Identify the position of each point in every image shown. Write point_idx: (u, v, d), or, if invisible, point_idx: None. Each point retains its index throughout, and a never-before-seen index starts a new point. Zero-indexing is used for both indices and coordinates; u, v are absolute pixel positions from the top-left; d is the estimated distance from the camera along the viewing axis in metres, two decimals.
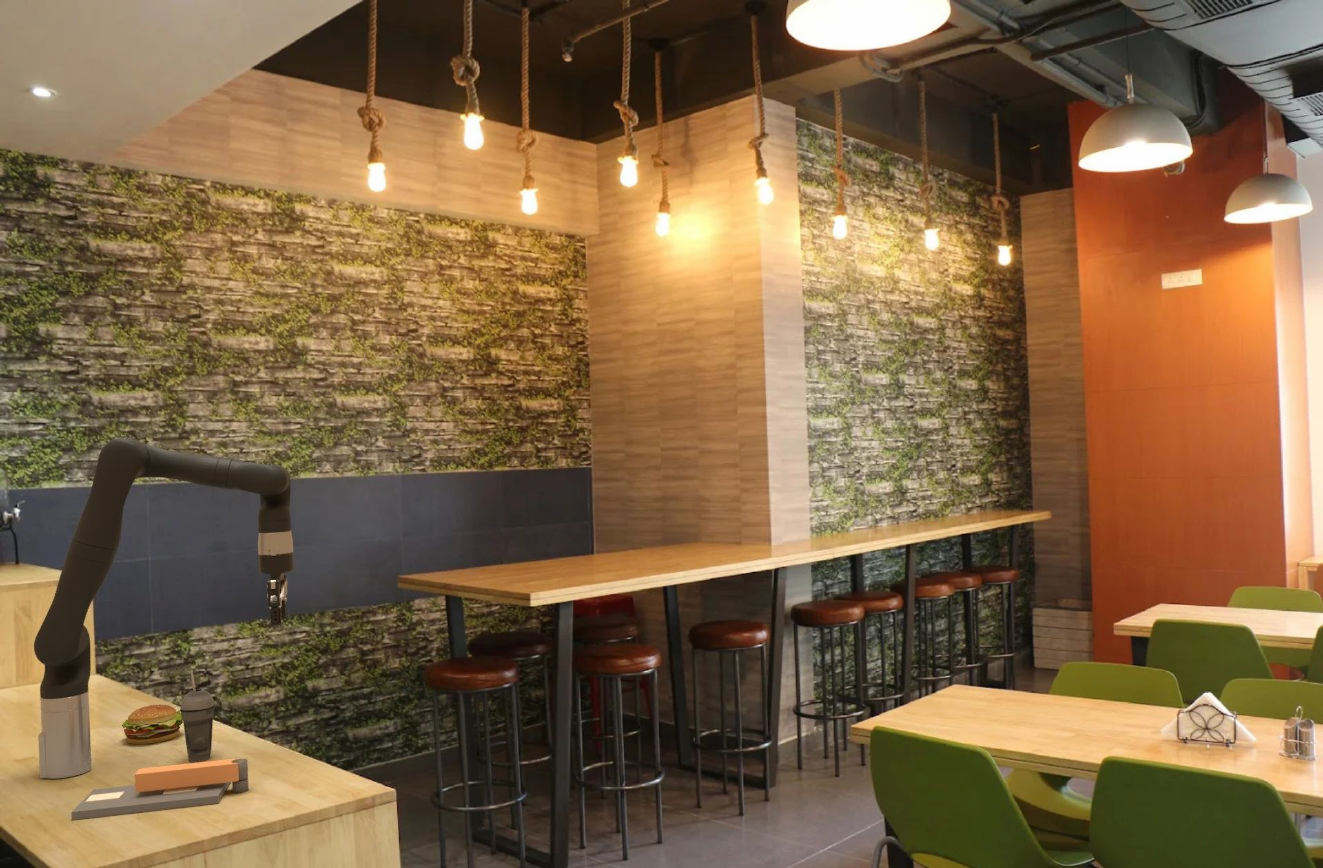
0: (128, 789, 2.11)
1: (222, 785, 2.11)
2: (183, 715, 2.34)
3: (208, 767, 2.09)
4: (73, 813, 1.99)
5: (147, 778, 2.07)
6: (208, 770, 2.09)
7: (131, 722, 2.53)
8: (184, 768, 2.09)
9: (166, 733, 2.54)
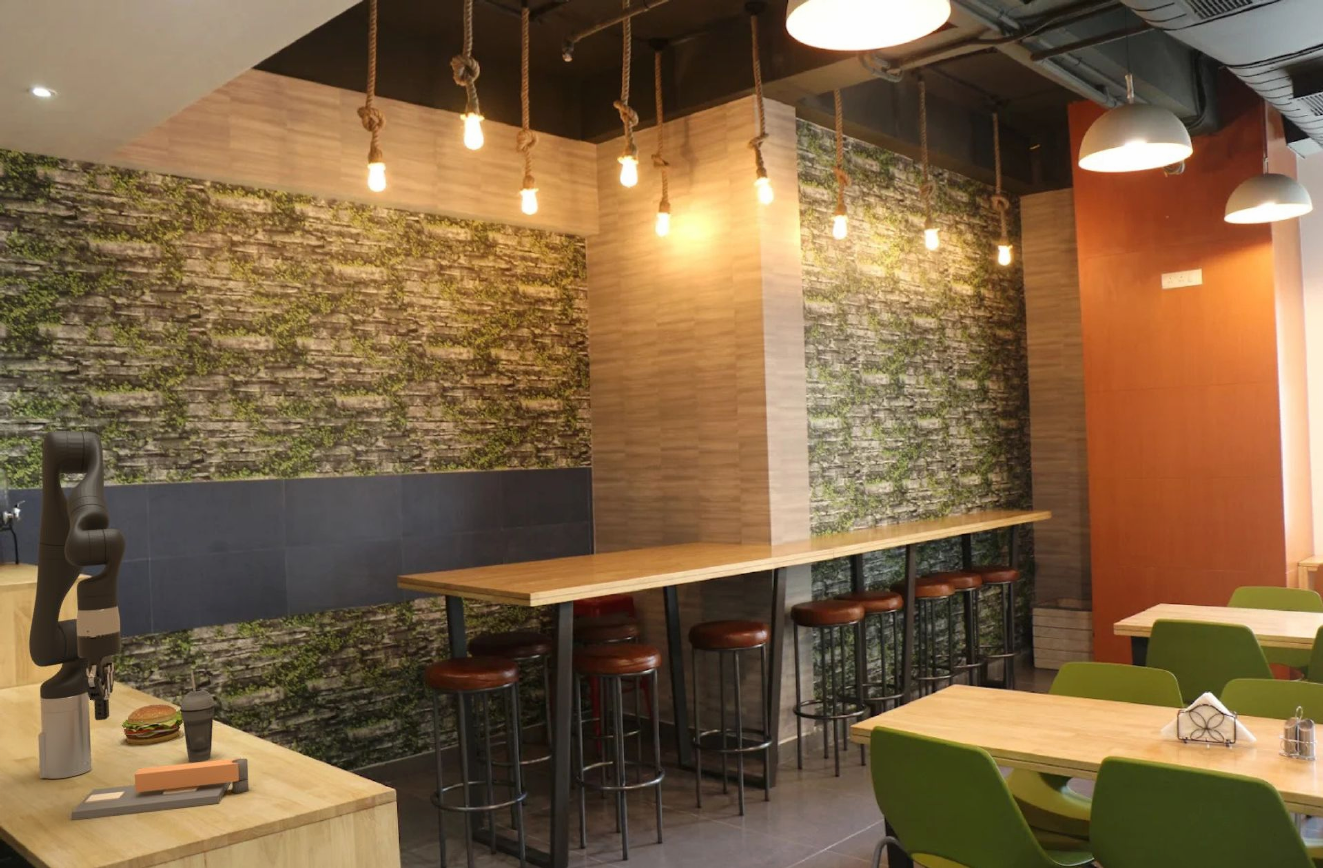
0: (128, 789, 2.11)
1: (222, 785, 2.11)
2: (183, 715, 2.34)
3: (208, 767, 2.09)
4: (73, 813, 1.99)
5: (147, 778, 2.07)
6: (208, 770, 2.09)
7: (131, 722, 2.53)
8: (184, 768, 2.09)
9: (166, 733, 2.54)
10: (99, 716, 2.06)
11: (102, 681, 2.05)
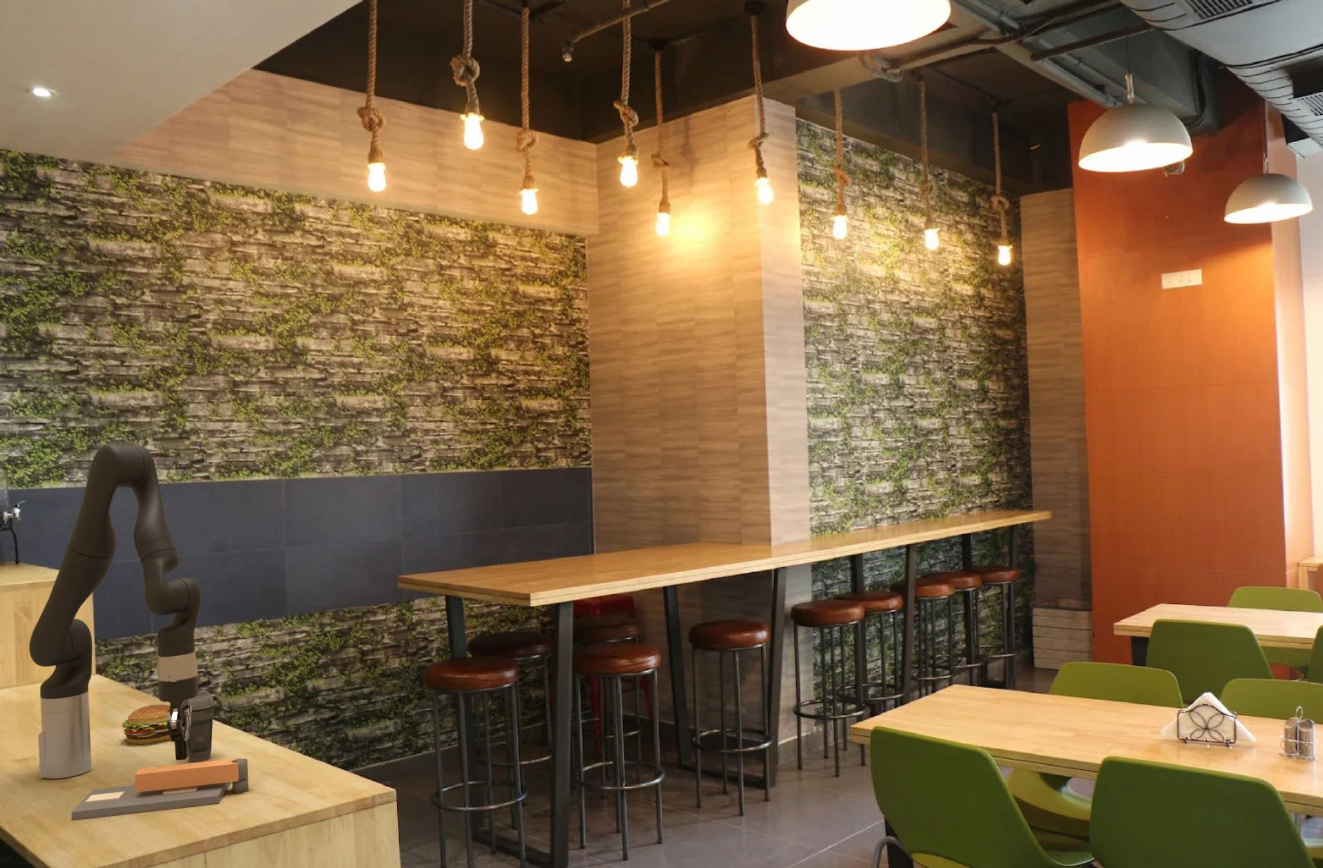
0: (128, 789, 2.11)
1: (222, 785, 2.11)
2: None
3: (208, 767, 2.09)
4: (73, 813, 1.99)
5: (147, 778, 2.07)
6: (208, 770, 2.09)
7: (131, 722, 2.53)
8: (184, 768, 2.09)
9: (166, 733, 2.54)
10: (179, 756, 2.17)
11: (182, 723, 2.17)
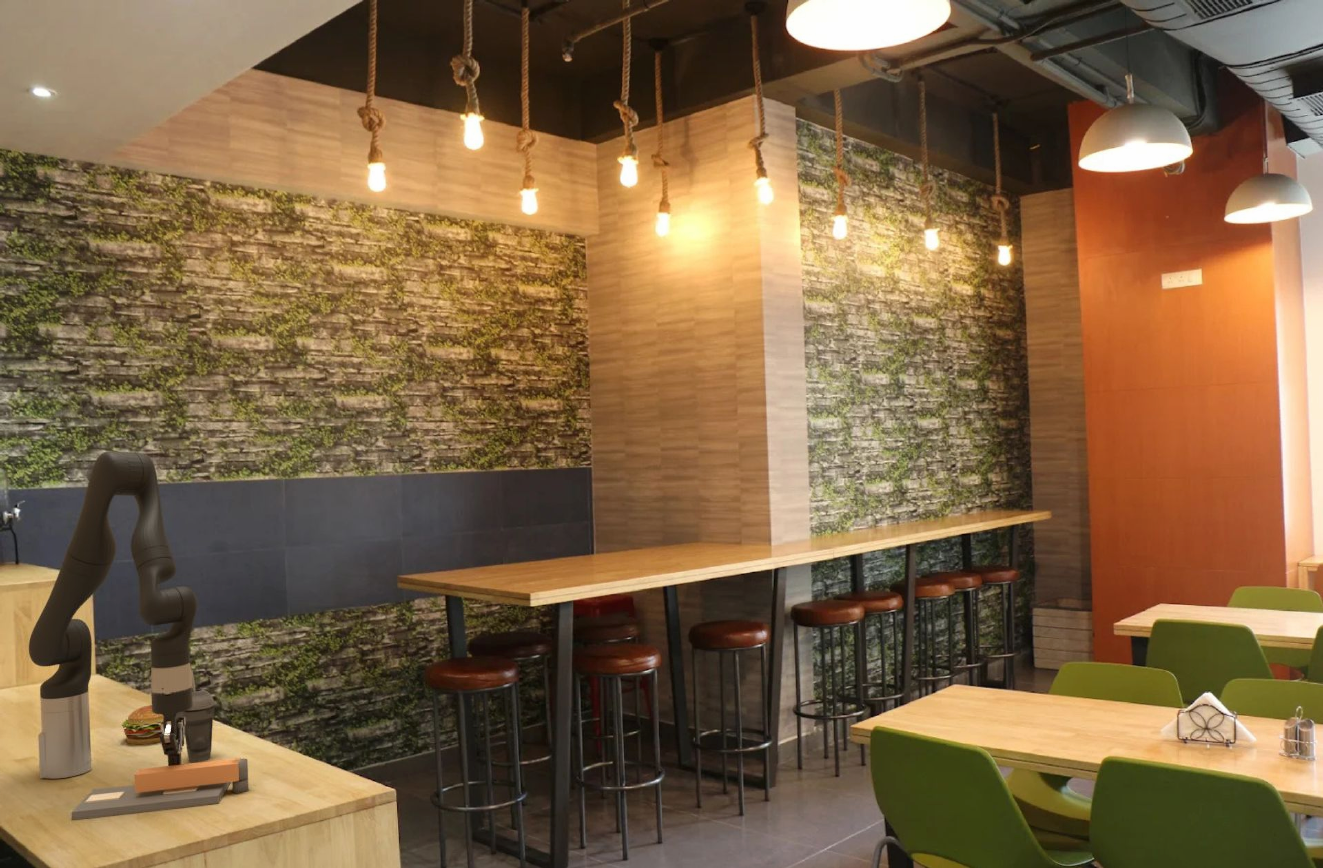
0: (128, 789, 2.11)
1: (222, 785, 2.11)
2: (183, 715, 2.34)
3: (208, 767, 2.09)
4: (73, 813, 1.99)
5: (147, 778, 2.06)
6: (208, 770, 2.09)
7: (131, 722, 2.53)
8: (184, 768, 2.09)
9: None
10: None
11: (176, 736, 2.11)
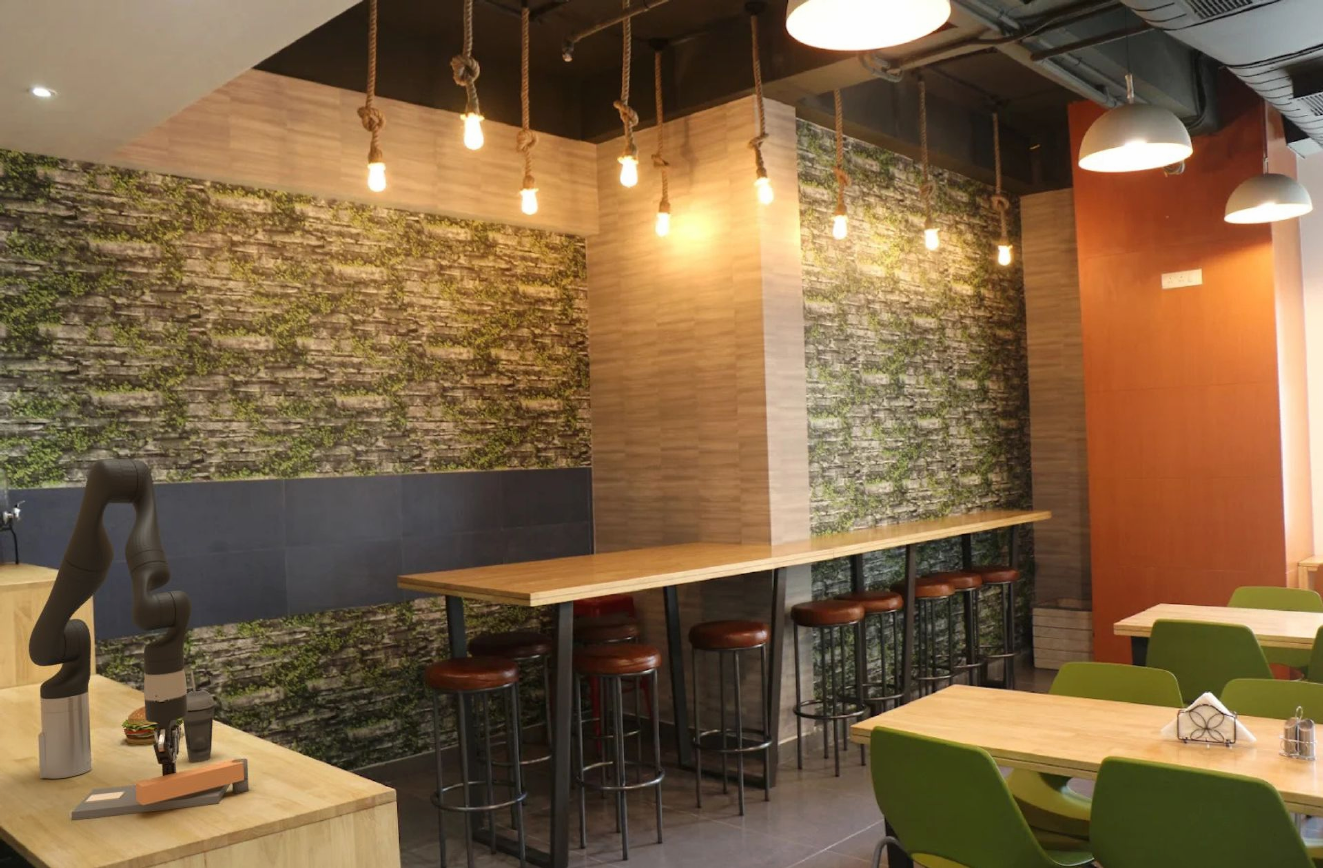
0: (128, 789, 2.11)
1: (222, 785, 2.11)
2: None
3: (215, 770, 2.07)
4: (73, 813, 1.99)
5: (155, 789, 2.00)
6: (215, 773, 2.07)
7: (131, 722, 2.53)
8: (190, 774, 2.04)
9: None
10: None
11: (170, 744, 2.05)
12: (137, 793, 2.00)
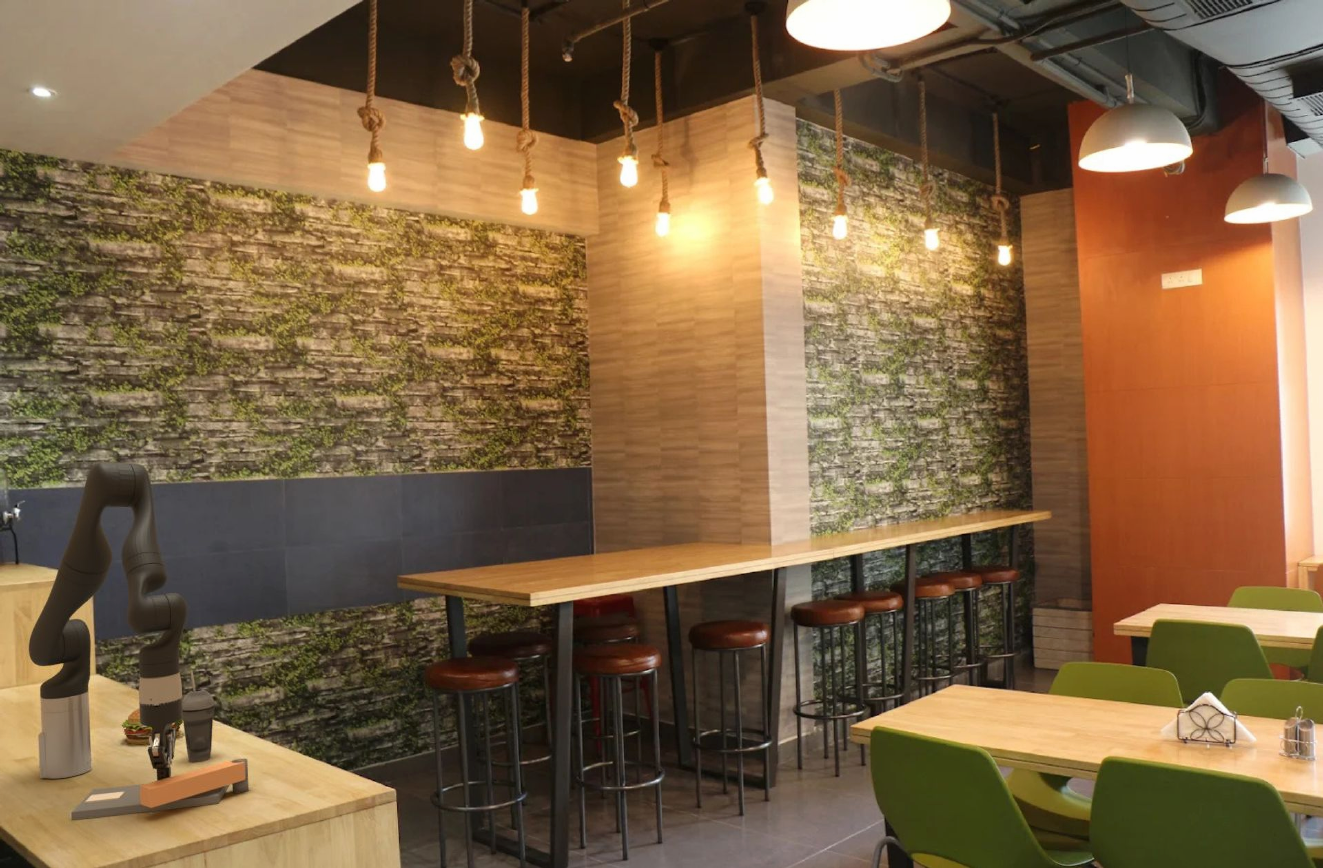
0: (128, 789, 2.11)
1: None
2: (183, 715, 2.34)
3: (218, 770, 2.07)
4: (73, 813, 1.99)
5: (162, 791, 1.98)
6: (219, 773, 2.07)
7: (131, 722, 2.53)
8: (194, 775, 2.04)
9: None
10: None
11: (165, 749, 2.02)
12: (142, 796, 1.98)
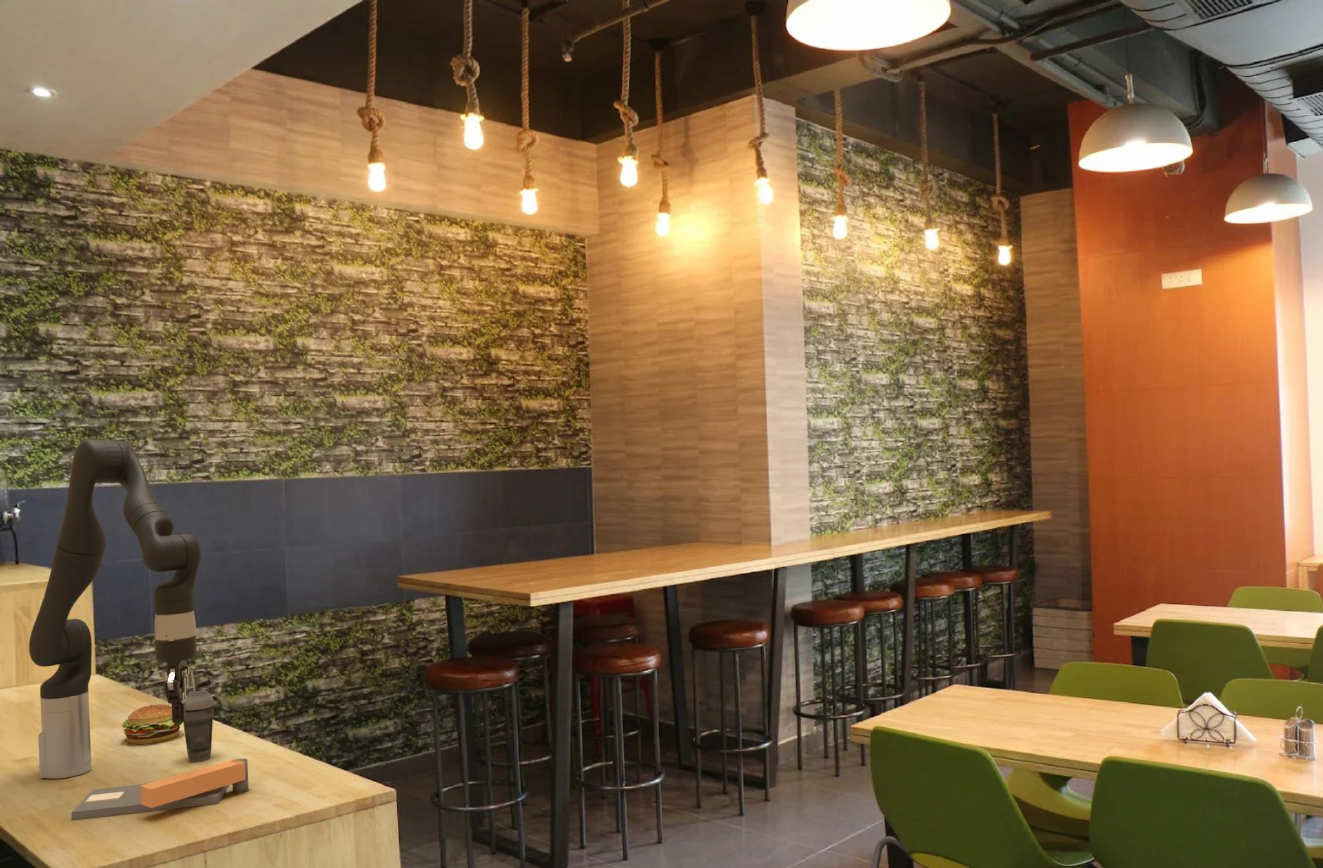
0: (128, 789, 2.11)
1: None
2: None
3: (218, 770, 2.07)
4: (73, 813, 1.99)
5: (163, 791, 1.98)
6: (219, 773, 2.07)
7: (131, 722, 2.53)
8: (195, 775, 2.04)
9: (166, 733, 2.54)
10: (176, 719, 2.09)
11: (179, 684, 2.08)
12: (143, 797, 1.98)
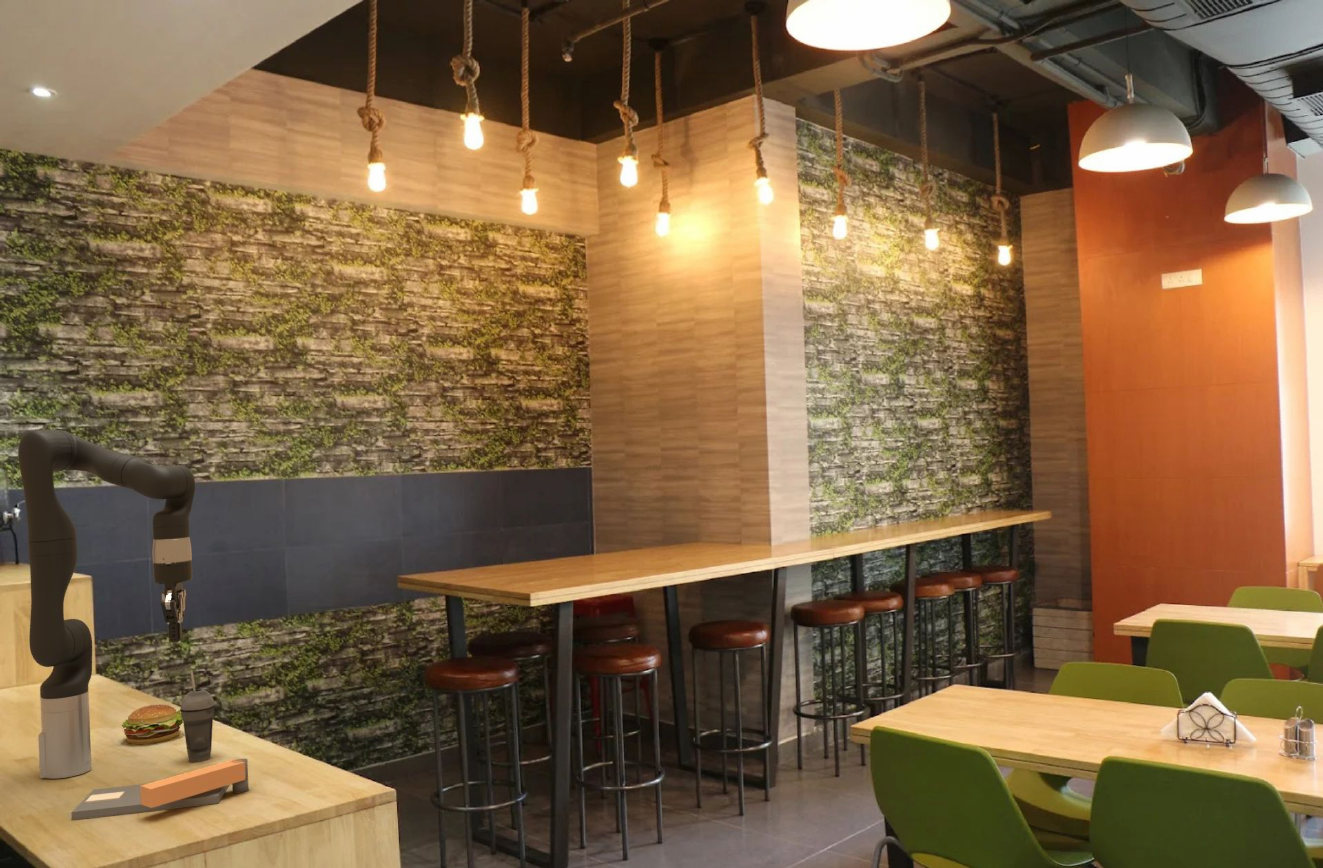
0: (128, 789, 2.11)
1: None
2: (183, 715, 2.34)
3: (218, 770, 2.07)
4: (73, 813, 1.99)
5: (163, 791, 1.98)
6: (219, 773, 2.07)
7: (131, 722, 2.53)
8: (195, 775, 2.04)
9: (166, 733, 2.54)
10: (173, 638, 2.22)
11: (176, 605, 2.21)
12: (143, 797, 1.98)
